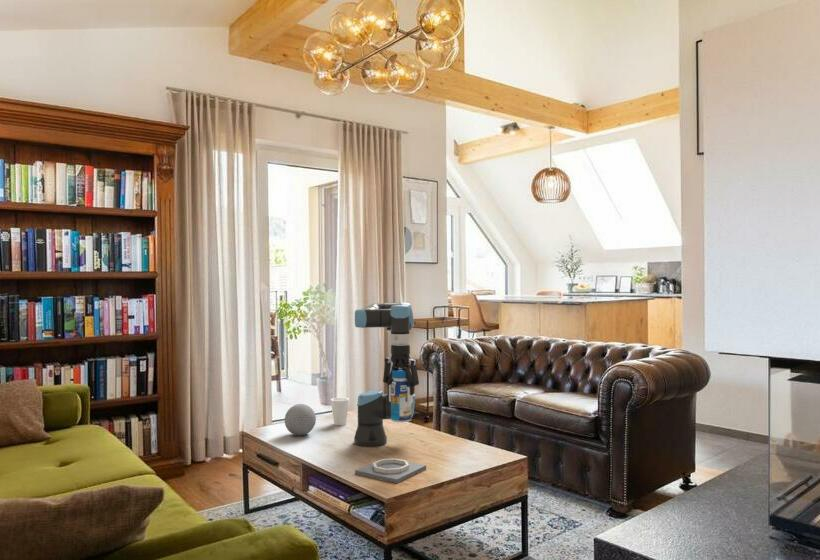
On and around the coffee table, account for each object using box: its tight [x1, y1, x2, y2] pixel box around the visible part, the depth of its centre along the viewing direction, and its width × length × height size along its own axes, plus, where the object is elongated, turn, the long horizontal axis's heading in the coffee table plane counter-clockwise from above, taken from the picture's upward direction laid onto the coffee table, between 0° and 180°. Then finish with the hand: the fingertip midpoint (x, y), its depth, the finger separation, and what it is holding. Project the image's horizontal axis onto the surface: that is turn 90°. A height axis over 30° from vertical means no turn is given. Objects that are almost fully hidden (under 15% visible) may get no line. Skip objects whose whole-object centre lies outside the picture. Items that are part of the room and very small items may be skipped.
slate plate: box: [354, 456, 427, 484], centre depth 238 cm, size 20×20×3 cm
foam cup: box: [330, 396, 350, 426], centre depth 316 cm, size 10×9×13 cm
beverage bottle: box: [390, 369, 412, 423], centre depth 239 cm, size 8×8×20 cm
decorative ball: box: [284, 403, 317, 436], centre depth 295 cm, size 15×15×15 cm
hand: (400, 401), depth 239 cm, fingers closed on beverage bottle, 8 cm apart
